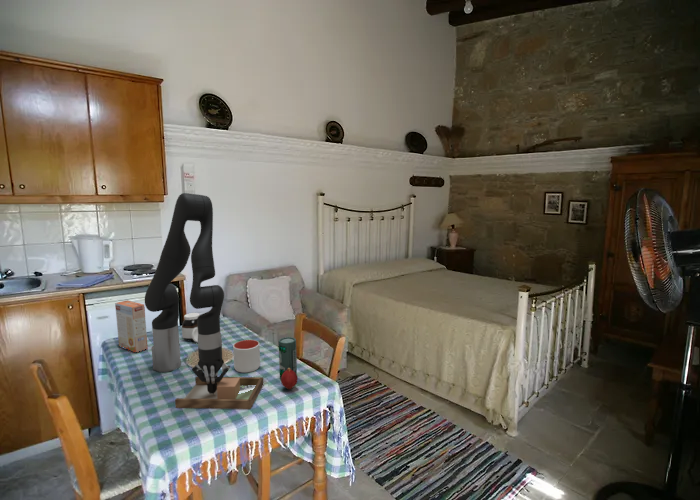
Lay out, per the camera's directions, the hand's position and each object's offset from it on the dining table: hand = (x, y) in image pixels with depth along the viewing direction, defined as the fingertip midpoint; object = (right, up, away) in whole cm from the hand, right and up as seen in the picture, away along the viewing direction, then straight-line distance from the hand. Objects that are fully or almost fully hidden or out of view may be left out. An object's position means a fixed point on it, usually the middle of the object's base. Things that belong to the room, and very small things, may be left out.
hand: (212, 392), depth 131 cm
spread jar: (-27, +6, +52) cm, 59 cm away
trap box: (+3, -1, 0) cm, 3 cm away
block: (+6, -1, +1) cm, 6 cm away
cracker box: (-51, +4, +42) cm, 66 cm away
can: (+24, 0, +13) cm, 27 cm away
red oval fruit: (+26, -1, +5) cm, 26 cm away
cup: (+6, +1, +21) cm, 22 cm away
